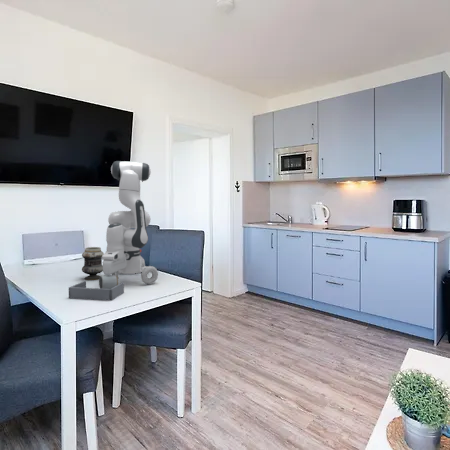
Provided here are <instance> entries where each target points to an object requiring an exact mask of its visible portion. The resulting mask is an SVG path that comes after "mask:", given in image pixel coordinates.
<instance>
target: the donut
mask: <svg viewBox="0 0 450 450" xmlns="http://www.w3.org/2000/svg"><path fill="white" fill-rule="evenodd" d="M149 273H151V276H150V277H148V275H149ZM158 276H159V272H158V269H157V268H156V267H155V266H153V265H148V267H146V268H144V270H143V271H142V273H140V278H141V281H142V282H143V284H145V285H153V284H154V283H155V282H156V281H157V279H158Z"/></svg>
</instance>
